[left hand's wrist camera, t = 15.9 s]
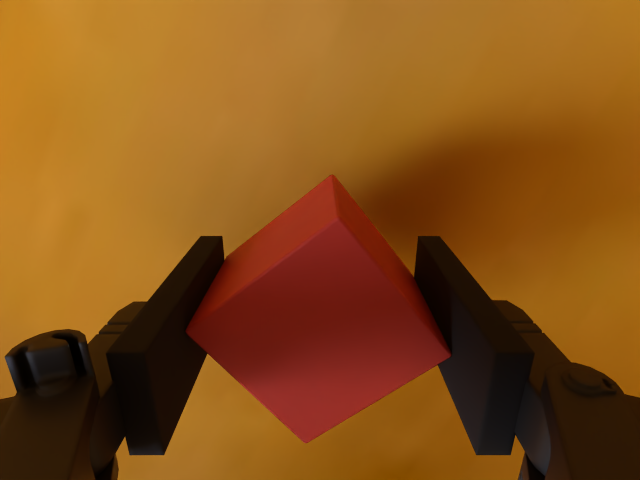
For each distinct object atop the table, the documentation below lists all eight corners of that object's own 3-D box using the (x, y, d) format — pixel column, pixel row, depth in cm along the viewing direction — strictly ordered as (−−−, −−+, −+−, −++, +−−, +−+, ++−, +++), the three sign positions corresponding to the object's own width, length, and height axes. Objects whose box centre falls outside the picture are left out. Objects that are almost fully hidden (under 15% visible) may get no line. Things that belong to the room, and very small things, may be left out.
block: (332, 173, 13) (339, 215, 9) (412, 274, 15) (454, 357, 10) (225, 256, 14) (182, 332, 10) (309, 344, 16) (305, 445, 11)
